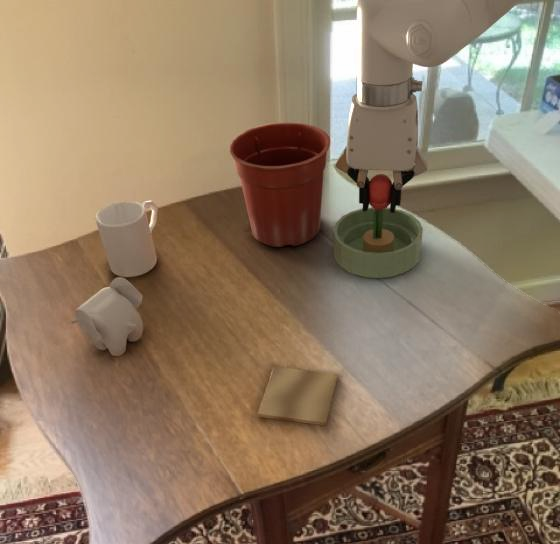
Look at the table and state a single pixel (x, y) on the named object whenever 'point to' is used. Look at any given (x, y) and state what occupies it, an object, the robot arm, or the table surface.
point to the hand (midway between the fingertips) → (379, 206)
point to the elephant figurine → (112, 316)
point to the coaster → (298, 396)
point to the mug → (128, 237)
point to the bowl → (370, 263)
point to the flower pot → (282, 180)
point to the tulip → (379, 216)
